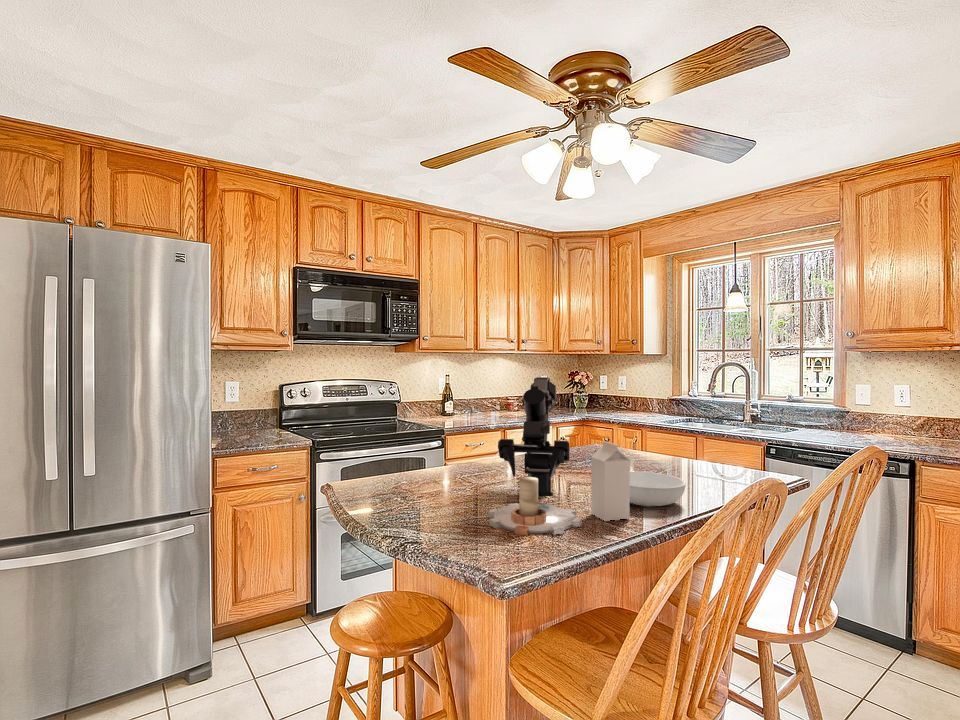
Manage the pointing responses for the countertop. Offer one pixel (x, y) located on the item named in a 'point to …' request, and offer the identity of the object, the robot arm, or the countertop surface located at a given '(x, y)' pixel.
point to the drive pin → (528, 496)
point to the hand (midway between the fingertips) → (531, 476)
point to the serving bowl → (655, 489)
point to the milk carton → (610, 483)
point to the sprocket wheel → (534, 519)
